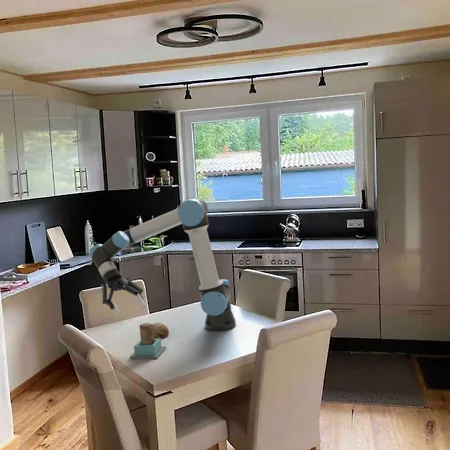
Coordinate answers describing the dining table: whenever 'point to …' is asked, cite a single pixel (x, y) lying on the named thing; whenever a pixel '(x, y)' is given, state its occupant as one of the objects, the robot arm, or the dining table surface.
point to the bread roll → (160, 330)
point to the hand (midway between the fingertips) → (131, 310)
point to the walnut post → (146, 334)
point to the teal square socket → (148, 350)
